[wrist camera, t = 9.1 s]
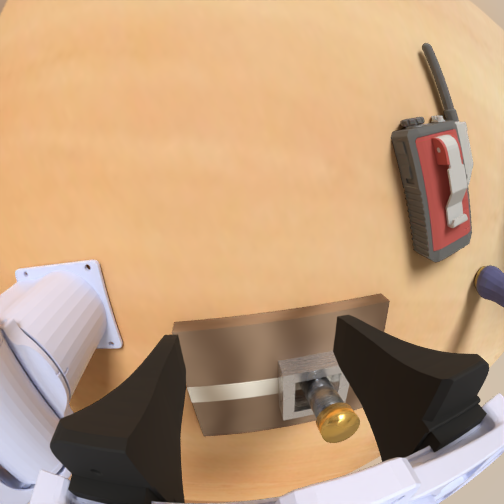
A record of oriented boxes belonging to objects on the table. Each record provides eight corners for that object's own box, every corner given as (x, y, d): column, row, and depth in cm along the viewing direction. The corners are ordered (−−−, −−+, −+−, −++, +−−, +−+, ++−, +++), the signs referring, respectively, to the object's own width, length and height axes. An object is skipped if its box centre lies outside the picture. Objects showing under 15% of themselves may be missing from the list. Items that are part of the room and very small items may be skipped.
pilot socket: (279, 405, 24) (283, 420, 22) (278, 360, 22) (283, 376, 20) (337, 393, 24) (344, 406, 23) (344, 347, 23) (353, 361, 21)
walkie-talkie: (467, 235, 23) (424, 47, 17) (495, 246, 19) (453, 35, 13) (411, 266, 23) (353, 49, 17) (440, 284, 19) (380, 30, 13)
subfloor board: (203, 425, 26) (203, 437, 24) (174, 322, 21) (171, 333, 20) (360, 398, 28) (365, 407, 26) (381, 293, 23) (390, 301, 22)
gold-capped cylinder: (296, 392, 23) (321, 447, 16) (295, 368, 23) (322, 421, 15) (325, 385, 23) (358, 435, 16) (325, 361, 23) (361, 409, 15)
